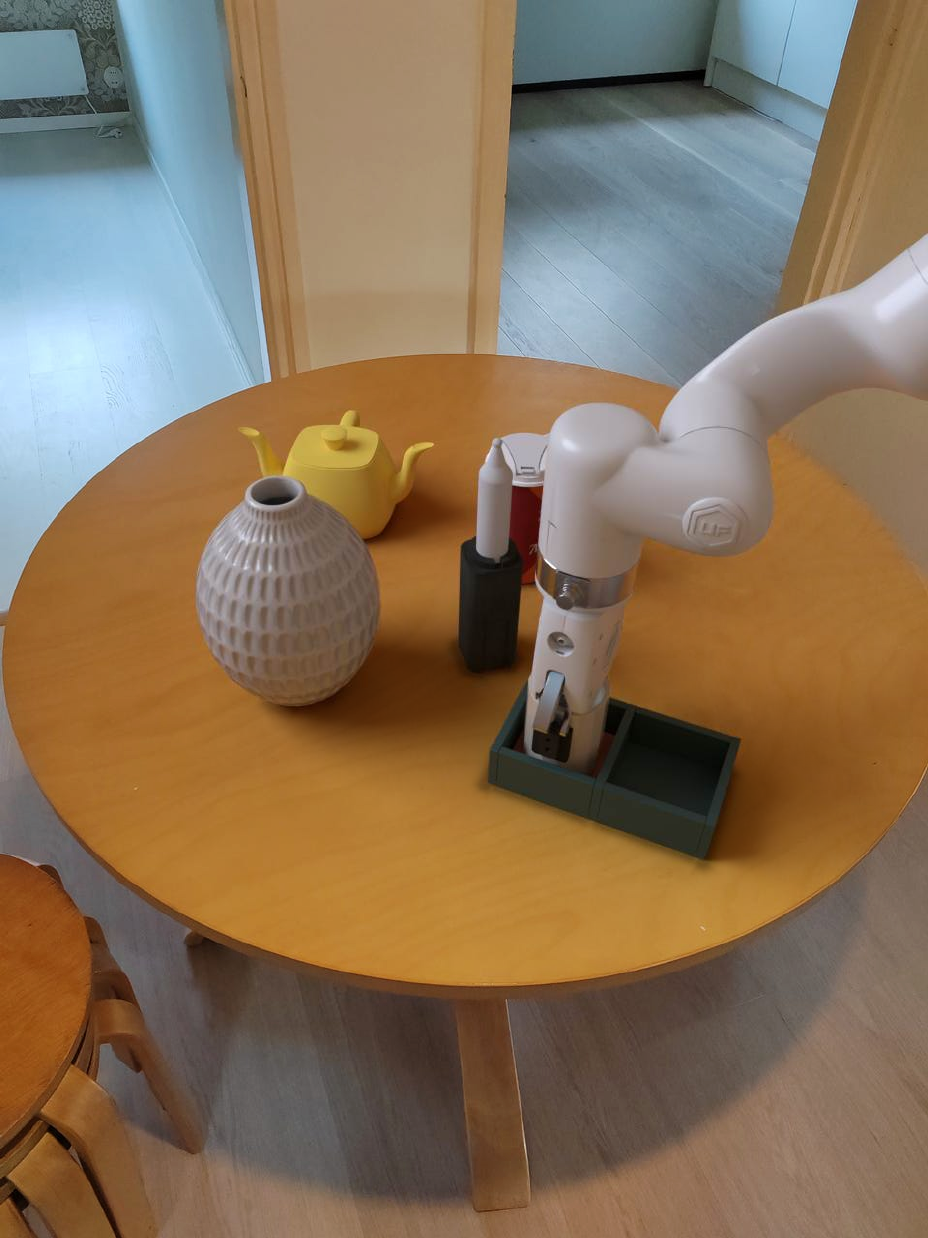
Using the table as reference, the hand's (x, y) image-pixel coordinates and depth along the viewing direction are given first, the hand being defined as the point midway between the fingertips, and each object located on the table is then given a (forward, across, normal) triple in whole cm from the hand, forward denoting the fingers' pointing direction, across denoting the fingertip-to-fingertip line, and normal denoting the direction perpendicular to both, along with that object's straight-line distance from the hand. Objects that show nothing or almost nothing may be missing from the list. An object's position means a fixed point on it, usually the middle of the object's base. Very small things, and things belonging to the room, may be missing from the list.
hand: (564, 723), depth 85 cm
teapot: (+5, +26, +36) cm, 45 cm away
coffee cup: (+5, +24, +13) cm, 28 cm away
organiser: (+5, 0, -5) cm, 7 cm away
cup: (+4, 0, 0) cm, 4 cm away
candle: (+5, +10, +11) cm, 16 cm away
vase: (+5, -1, +26) cm, 27 cm away
